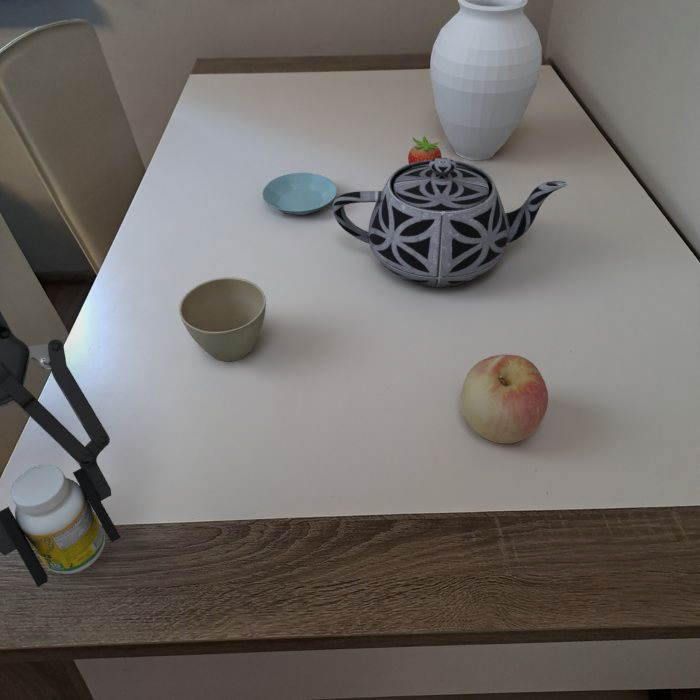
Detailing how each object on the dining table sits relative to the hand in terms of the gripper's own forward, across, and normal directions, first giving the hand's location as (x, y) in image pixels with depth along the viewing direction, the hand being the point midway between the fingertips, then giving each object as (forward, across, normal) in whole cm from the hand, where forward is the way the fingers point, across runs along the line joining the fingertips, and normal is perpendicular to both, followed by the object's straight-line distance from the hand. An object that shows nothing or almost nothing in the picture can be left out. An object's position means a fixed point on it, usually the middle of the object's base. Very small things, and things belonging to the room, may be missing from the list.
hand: (79, 558), depth 53 cm
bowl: (-10, -25, -18) cm, 33 cm away
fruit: (-20, -71, -28) cm, 79 cm away
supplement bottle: (0, 0, -5) cm, 5 cm away
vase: (-22, -86, -30) cm, 93 cm away
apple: (+11, -41, +2) cm, 43 cm away
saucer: (-26, -52, -34) cm, 67 cm away
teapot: (-8, -58, -16) cm, 61 cm away
